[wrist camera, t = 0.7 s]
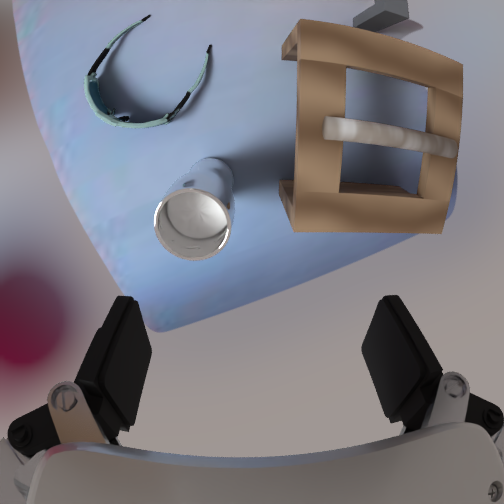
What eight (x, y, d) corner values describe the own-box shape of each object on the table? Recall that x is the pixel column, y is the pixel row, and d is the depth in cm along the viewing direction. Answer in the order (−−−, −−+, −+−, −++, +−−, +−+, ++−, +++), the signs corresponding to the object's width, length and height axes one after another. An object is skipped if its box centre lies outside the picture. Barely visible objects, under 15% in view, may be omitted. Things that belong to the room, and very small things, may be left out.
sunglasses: (81, 102, 29) (64, 99, 25) (142, 16, 26) (133, 2, 21) (158, 148, 34) (149, 149, 29) (224, 57, 30) (225, 46, 25)
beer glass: (245, 165, 35) (246, 203, 22) (225, 212, 38) (217, 273, 25) (194, 147, 34) (163, 174, 21) (177, 195, 37) (143, 248, 24)
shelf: (281, 45, 28) (305, 12, 15) (408, 68, 28) (474, 64, 16) (278, 194, 37) (297, 241, 25) (396, 198, 38) (450, 241, 26)
